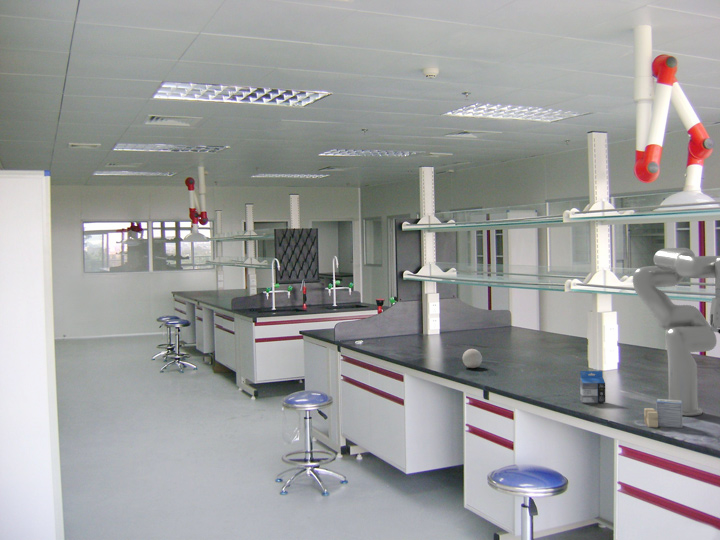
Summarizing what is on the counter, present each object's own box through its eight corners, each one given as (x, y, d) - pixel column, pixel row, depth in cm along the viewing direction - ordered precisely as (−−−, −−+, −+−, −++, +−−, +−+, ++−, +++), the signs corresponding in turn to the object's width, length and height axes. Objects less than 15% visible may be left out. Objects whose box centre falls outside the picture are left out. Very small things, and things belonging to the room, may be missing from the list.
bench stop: (644, 422, 226) (644, 408, 225) (653, 422, 225) (653, 408, 225) (648, 427, 220) (648, 412, 220) (657, 427, 219) (657, 412, 219)
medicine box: (682, 425, 221) (682, 400, 221) (682, 428, 217) (682, 403, 217) (657, 423, 224) (656, 398, 224) (656, 426, 220) (656, 401, 220)
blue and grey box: (582, 403, 254) (582, 372, 254) (580, 401, 258) (579, 370, 258) (605, 403, 253) (605, 372, 253) (603, 401, 257) (602, 370, 257)
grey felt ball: (461, 366, 340) (461, 347, 340) (480, 366, 340) (480, 347, 339) (463, 370, 330) (463, 350, 330) (483, 369, 330) (483, 350, 329)
